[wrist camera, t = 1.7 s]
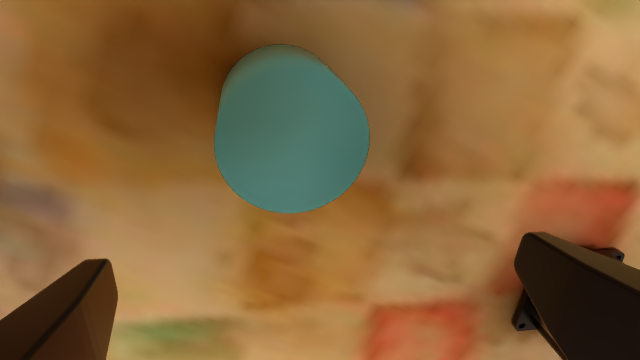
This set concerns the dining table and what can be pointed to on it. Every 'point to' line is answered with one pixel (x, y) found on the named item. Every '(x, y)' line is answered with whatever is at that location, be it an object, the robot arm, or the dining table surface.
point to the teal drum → (288, 131)
